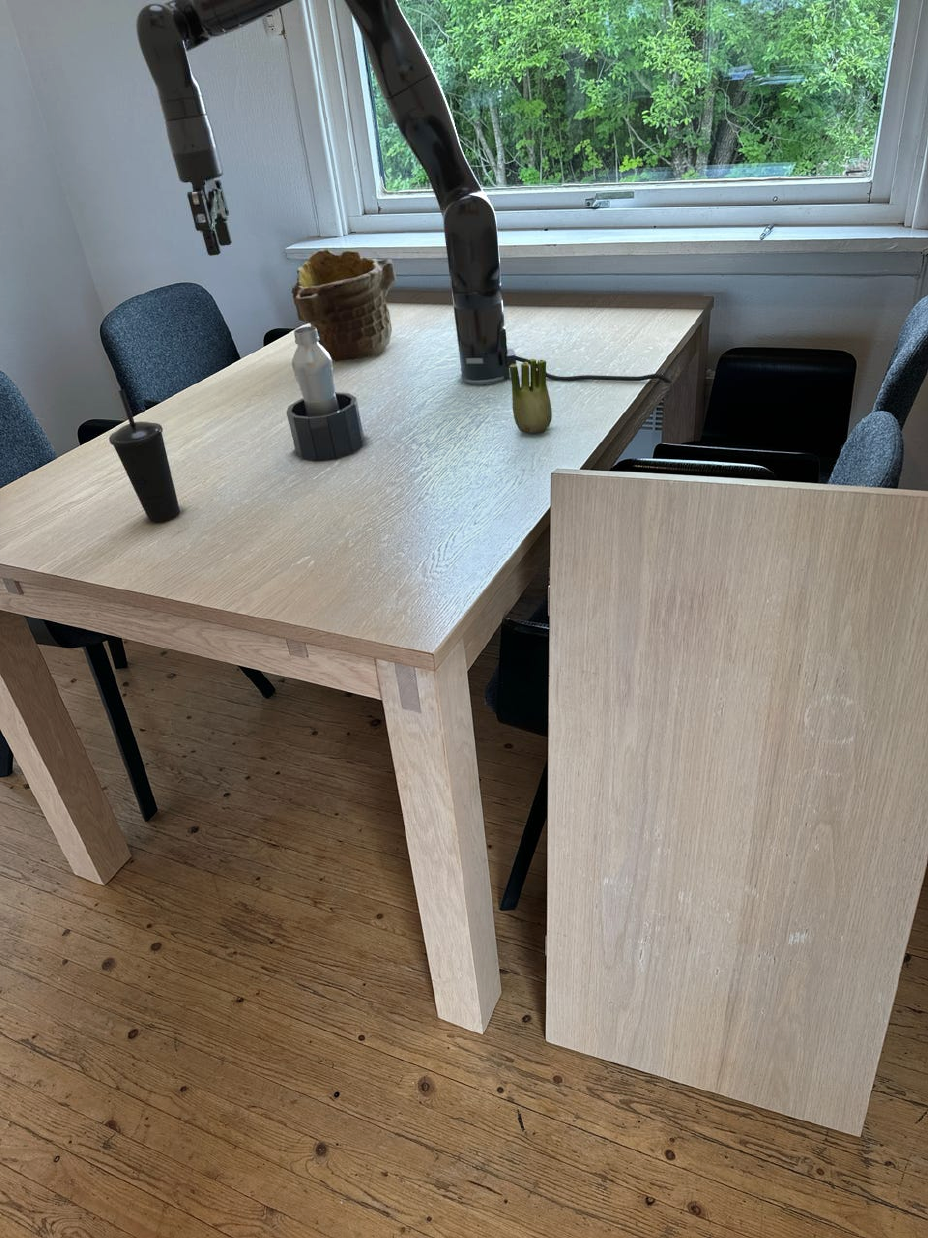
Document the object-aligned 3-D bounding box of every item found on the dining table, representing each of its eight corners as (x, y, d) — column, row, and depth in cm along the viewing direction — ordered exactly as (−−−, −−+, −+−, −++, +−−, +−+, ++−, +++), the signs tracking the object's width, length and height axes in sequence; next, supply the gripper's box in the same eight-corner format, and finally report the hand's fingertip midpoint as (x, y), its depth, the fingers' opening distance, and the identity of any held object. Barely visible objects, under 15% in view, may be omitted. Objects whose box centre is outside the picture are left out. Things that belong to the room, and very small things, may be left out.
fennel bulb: (513, 436, 145) (506, 365, 138) (522, 424, 148) (516, 355, 142) (546, 437, 143) (541, 365, 136) (555, 426, 146) (550, 355, 140)
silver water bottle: (343, 453, 147) (318, 334, 136) (305, 454, 149) (278, 337, 138) (354, 438, 152) (331, 322, 141) (318, 439, 154) (292, 324, 143)
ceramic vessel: (400, 330, 175) (309, 231, 169) (332, 402, 190) (245, 314, 183) (437, 296, 192) (355, 205, 186) (371, 365, 207) (294, 283, 201)
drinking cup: (145, 507, 138) (101, 385, 127) (192, 501, 138) (153, 378, 127) (134, 530, 132) (87, 403, 121) (184, 523, 132) (141, 395, 121)
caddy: (366, 429, 155) (358, 388, 151) (360, 456, 146) (352, 413, 141) (302, 437, 156) (292, 396, 152) (292, 464, 146) (282, 421, 142)
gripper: (205, 149, 141) (232, 255, 150) (225, 140, 152) (249, 239, 161) (160, 155, 141) (189, 261, 150) (183, 145, 153) (209, 244, 162)
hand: (220, 249), depth 156 cm, fingers open, 8 cm apart
